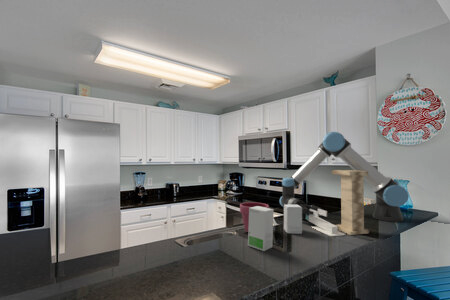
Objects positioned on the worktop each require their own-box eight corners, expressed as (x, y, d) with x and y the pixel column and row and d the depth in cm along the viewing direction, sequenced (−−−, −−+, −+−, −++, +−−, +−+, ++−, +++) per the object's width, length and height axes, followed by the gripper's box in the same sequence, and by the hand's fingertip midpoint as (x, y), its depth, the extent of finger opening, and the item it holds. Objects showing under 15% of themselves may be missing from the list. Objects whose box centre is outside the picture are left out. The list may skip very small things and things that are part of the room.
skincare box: (247, 246, 98) (247, 207, 98) (256, 242, 103) (257, 205, 103) (264, 251, 92) (264, 210, 93) (273, 247, 97) (274, 208, 98)
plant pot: (265, 226, 126) (266, 202, 127) (271, 235, 112) (271, 207, 113) (238, 226, 126) (239, 201, 127) (240, 234, 112) (241, 207, 113)
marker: (310, 218, 135) (310, 213, 135) (337, 233, 115) (337, 226, 115) (305, 219, 134) (305, 213, 134) (331, 233, 114) (331, 227, 114)
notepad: (323, 226, 128) (323, 225, 128) (345, 235, 113) (345, 234, 113) (310, 227, 125) (310, 226, 125) (331, 236, 111) (331, 235, 111)
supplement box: (302, 233, 115) (302, 207, 115) (286, 233, 115) (286, 207, 115) (298, 229, 122) (298, 204, 123) (283, 229, 122) (283, 204, 123)
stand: (349, 226, 128) (349, 170, 129) (368, 233, 116) (368, 171, 117) (332, 227, 125) (332, 170, 126) (350, 235, 113) (349, 171, 114)
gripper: (309, 210, 148) (336, 220, 125) (283, 212, 143) (307, 222, 121) (309, 198, 148) (336, 206, 126) (283, 199, 143) (307, 207, 121)
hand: (322, 214), depth 123 cm, fingers open, 4 cm apart
